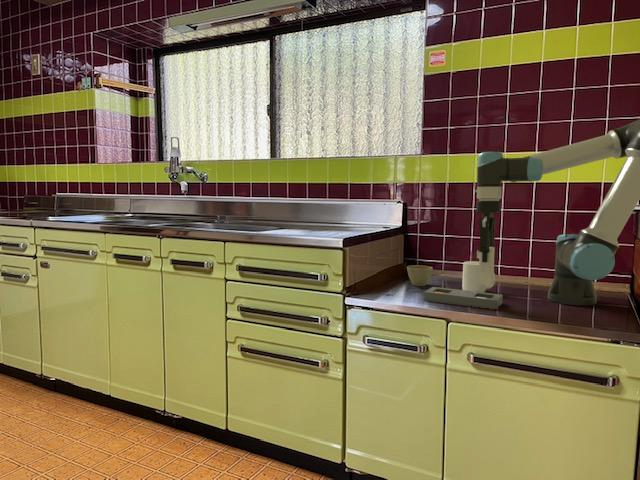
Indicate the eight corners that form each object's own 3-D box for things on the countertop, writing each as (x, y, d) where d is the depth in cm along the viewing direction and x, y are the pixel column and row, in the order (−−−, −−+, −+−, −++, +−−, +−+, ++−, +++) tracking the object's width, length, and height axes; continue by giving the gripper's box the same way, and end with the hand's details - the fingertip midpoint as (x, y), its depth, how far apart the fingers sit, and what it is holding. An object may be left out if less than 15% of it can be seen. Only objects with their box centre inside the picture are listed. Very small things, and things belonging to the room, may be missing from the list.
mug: (491, 295, 176) (493, 266, 175) (458, 291, 182) (460, 263, 181) (498, 291, 183) (499, 263, 182) (466, 287, 190) (467, 260, 188)
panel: (502, 303, 164) (502, 294, 164) (496, 309, 156) (497, 300, 155) (432, 294, 176) (432, 286, 176) (423, 300, 168) (424, 291, 167)
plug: (493, 282, 162) (494, 247, 161) (491, 284, 159) (492, 248, 158) (478, 281, 165) (479, 246, 163) (475, 283, 161) (476, 247, 160)
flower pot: (431, 288, 188) (431, 269, 187) (405, 286, 191) (405, 268, 190) (432, 283, 197) (433, 265, 197) (407, 281, 200) (408, 264, 199)
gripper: (482, 199, 168) (480, 266, 170) (470, 200, 153) (468, 273, 156) (505, 199, 164) (502, 268, 167) (495, 200, 149) (493, 276, 152)
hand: (486, 270), depth 161 cm, fingers closed on plug, 4 cm apart
